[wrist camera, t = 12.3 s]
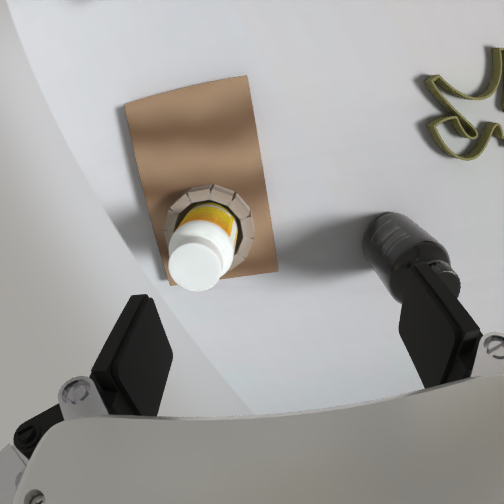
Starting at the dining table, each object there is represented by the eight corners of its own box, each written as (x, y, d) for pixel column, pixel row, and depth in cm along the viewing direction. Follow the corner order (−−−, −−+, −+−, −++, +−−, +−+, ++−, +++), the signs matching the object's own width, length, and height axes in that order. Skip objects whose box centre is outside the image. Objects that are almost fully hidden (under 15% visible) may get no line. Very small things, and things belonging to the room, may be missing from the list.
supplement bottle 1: (244, 242, 33) (240, 291, 24) (195, 255, 33) (175, 306, 25) (228, 192, 31) (217, 225, 22) (177, 207, 31) (148, 246, 23)
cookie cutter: (503, 43, 23) (513, 42, 21) (533, 127, 27) (542, 130, 26) (405, 84, 27) (414, 83, 26) (446, 181, 31) (455, 185, 30)
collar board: (129, 104, 28) (116, 103, 25) (247, 76, 27) (246, 72, 24) (173, 279, 36) (165, 295, 33) (277, 264, 35) (279, 280, 32)
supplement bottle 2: (363, 272, 36) (400, 337, 25) (358, 217, 33) (402, 269, 22) (415, 259, 35) (465, 316, 24) (414, 206, 32) (473, 250, 21)
